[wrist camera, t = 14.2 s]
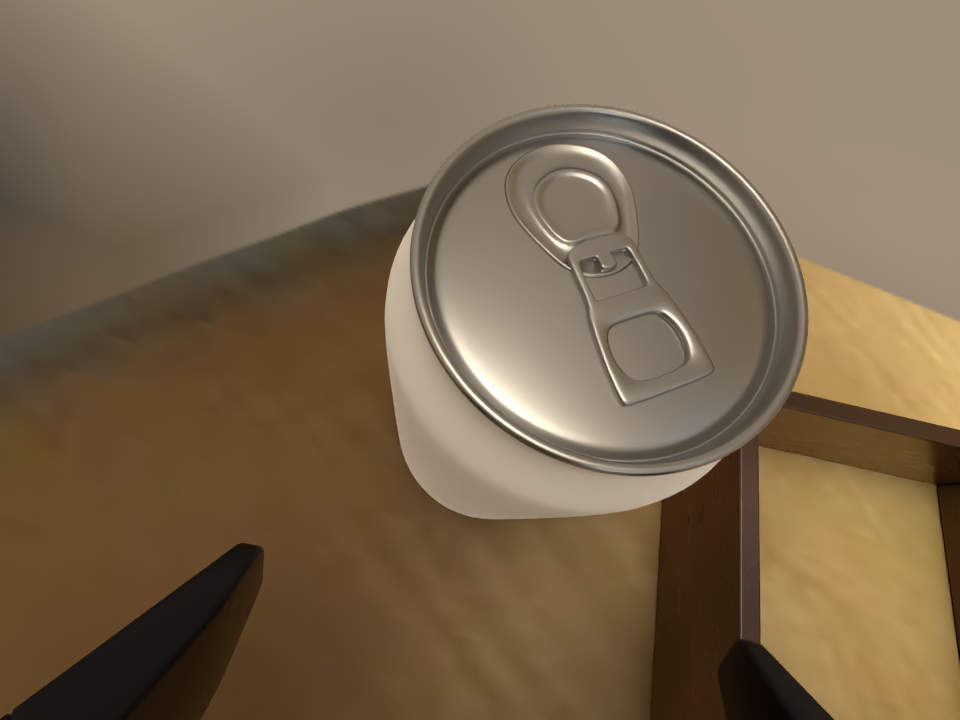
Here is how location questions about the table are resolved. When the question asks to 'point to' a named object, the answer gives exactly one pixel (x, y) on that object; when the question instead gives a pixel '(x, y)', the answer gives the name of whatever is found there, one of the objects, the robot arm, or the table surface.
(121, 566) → the table surface
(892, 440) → the tray
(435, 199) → the can
